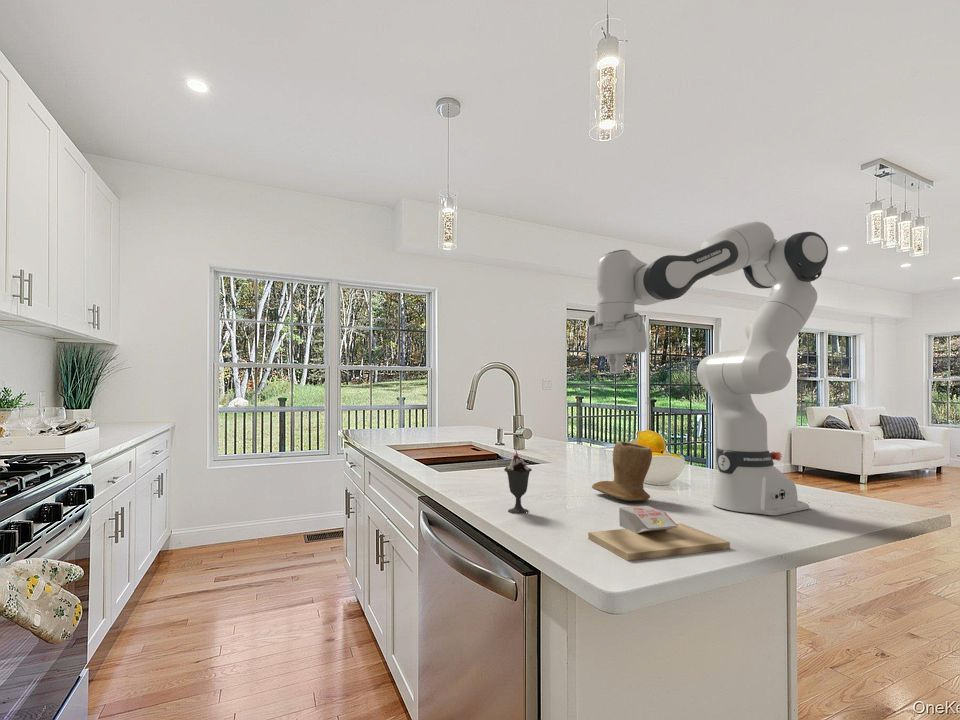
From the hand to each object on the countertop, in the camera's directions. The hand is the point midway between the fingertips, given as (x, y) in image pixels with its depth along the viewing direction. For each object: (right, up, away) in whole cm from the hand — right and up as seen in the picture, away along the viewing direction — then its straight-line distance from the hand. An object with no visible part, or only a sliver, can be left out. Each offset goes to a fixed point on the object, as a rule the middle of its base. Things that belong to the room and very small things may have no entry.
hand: (616, 373), depth 126 cm
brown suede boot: (+6, -34, +13) cm, 37 cm away
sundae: (-24, -33, -2) cm, 41 cm away
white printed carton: (-1, -29, -17) cm, 34 cm away
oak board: (+1, -32, -27) cm, 42 cm away
